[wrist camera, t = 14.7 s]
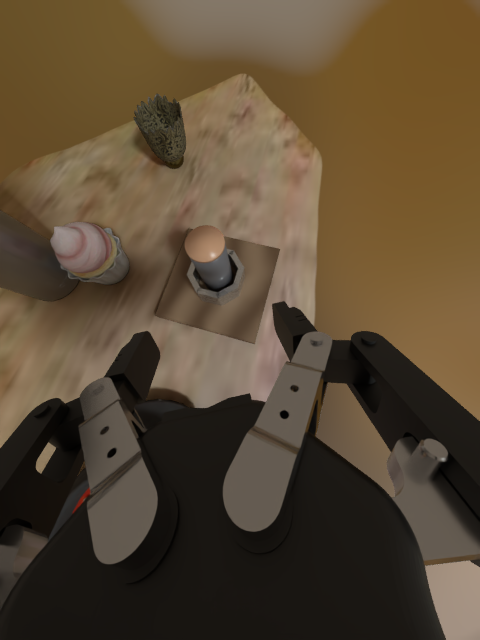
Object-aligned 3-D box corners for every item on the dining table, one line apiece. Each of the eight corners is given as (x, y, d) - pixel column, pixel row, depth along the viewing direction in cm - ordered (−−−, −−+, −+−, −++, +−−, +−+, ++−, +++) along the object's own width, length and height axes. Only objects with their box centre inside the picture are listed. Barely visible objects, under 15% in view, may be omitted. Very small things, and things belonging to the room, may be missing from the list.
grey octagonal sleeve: (188, 297, 30) (181, 288, 27) (204, 255, 32) (198, 242, 28) (235, 309, 30) (233, 302, 26) (248, 265, 31) (248, 253, 28)
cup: (201, 157, 38) (189, 103, 30) (180, 183, 37) (161, 135, 29) (171, 143, 39) (152, 87, 31) (149, 168, 38) (123, 118, 30)
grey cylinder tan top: (202, 291, 30) (179, 257, 21) (210, 266, 31) (191, 222, 22) (229, 297, 30) (218, 264, 20) (236, 271, 31) (229, 228, 21)
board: (157, 316, 31) (155, 315, 30) (190, 232, 34) (188, 228, 33) (254, 343, 29) (254, 343, 28) (279, 252, 32) (279, 249, 32)
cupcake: (126, 235, 35) (79, 184, 25) (147, 276, 33) (103, 239, 23) (78, 259, 34) (9, 217, 24) (96, 303, 32) (29, 276, 22)
